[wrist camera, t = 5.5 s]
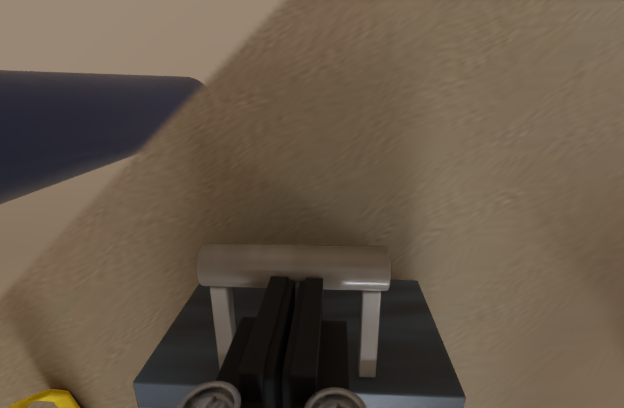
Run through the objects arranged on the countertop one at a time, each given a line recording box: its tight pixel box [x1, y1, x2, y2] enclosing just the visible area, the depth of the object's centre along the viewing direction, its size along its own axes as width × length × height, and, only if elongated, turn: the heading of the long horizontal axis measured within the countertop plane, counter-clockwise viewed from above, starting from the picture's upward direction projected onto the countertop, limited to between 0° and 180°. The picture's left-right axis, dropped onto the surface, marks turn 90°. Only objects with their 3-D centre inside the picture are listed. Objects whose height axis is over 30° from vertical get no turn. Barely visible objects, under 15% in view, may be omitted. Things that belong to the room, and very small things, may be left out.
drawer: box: [133, 243, 466, 408], centre depth 17 cm, size 17×11×7 cm, turn 1°
